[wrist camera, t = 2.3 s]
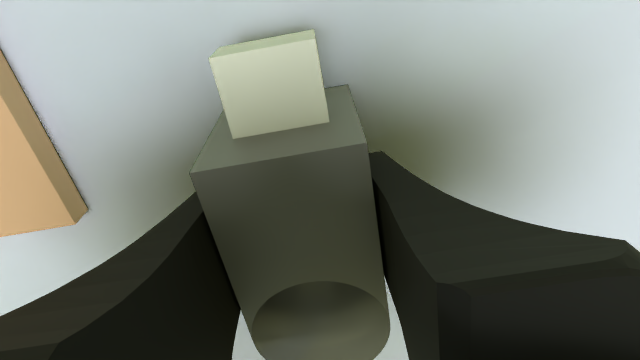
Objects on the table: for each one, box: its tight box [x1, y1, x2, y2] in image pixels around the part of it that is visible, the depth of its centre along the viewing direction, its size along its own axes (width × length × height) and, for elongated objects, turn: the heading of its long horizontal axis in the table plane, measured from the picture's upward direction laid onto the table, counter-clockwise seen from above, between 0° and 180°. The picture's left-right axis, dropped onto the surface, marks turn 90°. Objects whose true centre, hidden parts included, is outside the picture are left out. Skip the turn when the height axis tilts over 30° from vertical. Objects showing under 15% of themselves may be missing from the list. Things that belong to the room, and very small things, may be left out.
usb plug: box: [189, 29, 390, 360], centre depth 11 cm, size 8×4×4 cm, turn 10°
